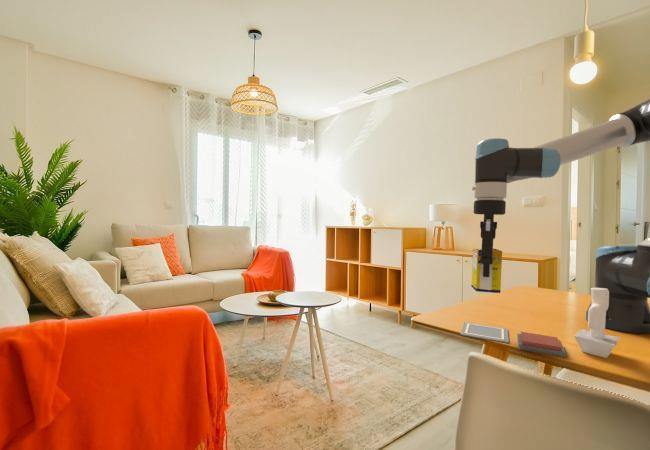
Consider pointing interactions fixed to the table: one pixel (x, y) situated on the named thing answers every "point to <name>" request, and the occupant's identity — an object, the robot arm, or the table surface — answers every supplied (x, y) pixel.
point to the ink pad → (540, 344)
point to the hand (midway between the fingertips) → (486, 286)
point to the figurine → (597, 327)
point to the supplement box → (495, 270)
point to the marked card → (485, 332)
